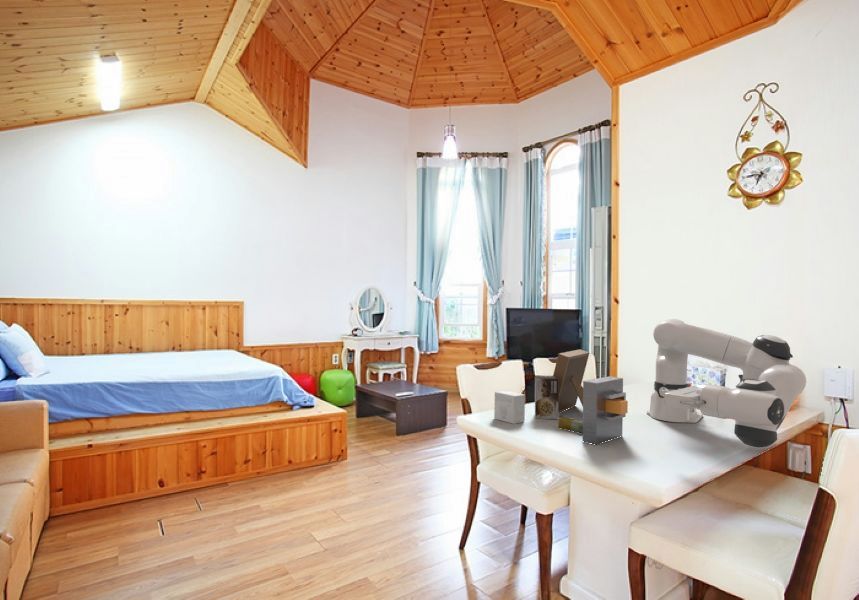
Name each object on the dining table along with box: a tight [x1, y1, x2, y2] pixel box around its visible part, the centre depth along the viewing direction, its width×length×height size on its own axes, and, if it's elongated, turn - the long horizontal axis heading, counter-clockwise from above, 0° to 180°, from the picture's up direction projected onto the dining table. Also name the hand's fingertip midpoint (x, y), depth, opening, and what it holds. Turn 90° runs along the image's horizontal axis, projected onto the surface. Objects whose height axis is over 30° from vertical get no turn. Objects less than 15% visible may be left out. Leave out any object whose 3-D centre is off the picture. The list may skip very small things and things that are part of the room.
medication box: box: [557, 416, 583, 435], centre depth 172 cm, size 12×3×4 cm, turn 39°
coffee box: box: [534, 374, 560, 420], centre depth 191 cm, size 9×6×16 cm
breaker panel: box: [582, 375, 627, 446], centre depth 161 cm, size 16×8×20 cm, turn 129°
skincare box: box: [493, 390, 526, 425], centre depth 186 cm, size 10×6×10 cm, turn 39°
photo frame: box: [552, 349, 590, 414], centre depth 200 cm, size 15×22×25 cm
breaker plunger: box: [605, 398, 629, 415], centre depth 160 cm, size 4×10×4 cm, turn 39°
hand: (662, 392), depth 147 cm, fingers closed
